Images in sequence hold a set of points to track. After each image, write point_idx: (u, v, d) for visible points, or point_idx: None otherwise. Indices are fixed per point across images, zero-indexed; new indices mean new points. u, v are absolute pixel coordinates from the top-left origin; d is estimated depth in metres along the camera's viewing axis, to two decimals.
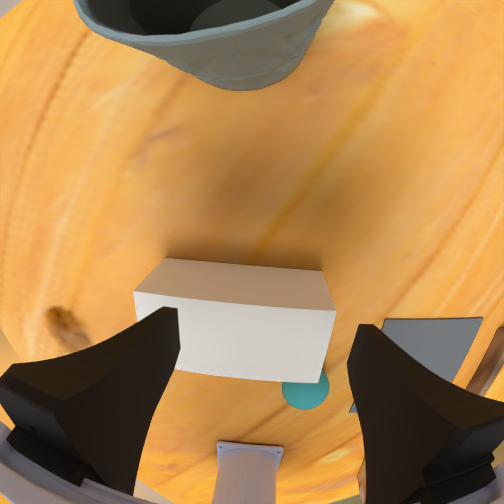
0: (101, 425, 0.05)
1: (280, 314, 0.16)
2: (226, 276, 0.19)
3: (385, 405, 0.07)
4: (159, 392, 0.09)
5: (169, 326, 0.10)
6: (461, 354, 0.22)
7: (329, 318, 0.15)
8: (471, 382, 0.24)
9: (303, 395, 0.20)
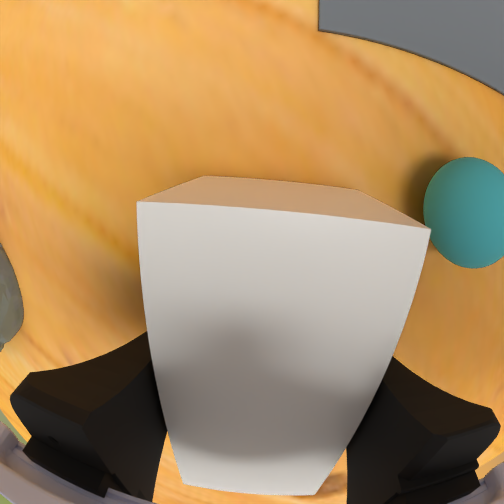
0: (126, 433, 0.05)
1: (166, 340, 0.06)
2: None
3: None
4: None
5: None
6: None
7: (161, 219, 0.05)
8: None
9: (482, 235, 0.06)
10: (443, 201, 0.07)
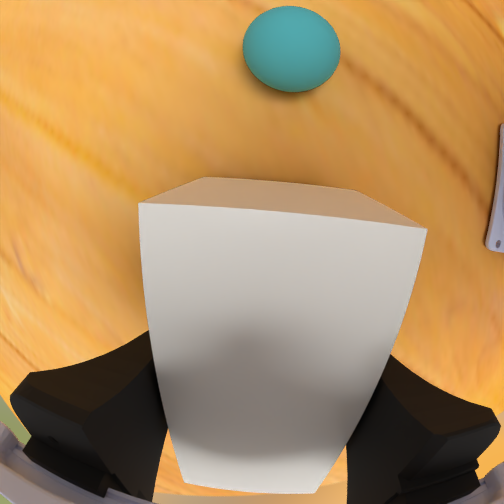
0: (125, 433, 0.05)
1: (167, 339, 0.06)
2: None
3: None
4: None
5: None
6: None
7: (162, 220, 0.05)
8: None
9: (270, 40, 0.08)
10: (244, 36, 0.09)
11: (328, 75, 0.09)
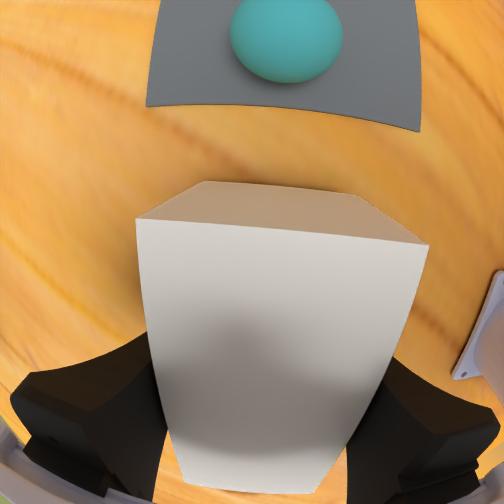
0: (126, 433, 0.05)
1: (167, 350, 0.06)
2: None
3: None
4: None
5: None
6: None
7: (160, 236, 0.05)
8: None
9: None
10: (231, 45, 0.08)
11: None
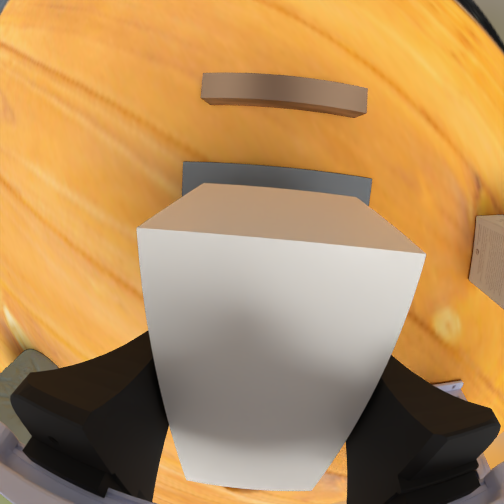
0: (126, 433, 0.05)
1: (169, 354, 0.06)
2: None
3: (366, 406, 0.07)
4: None
5: None
6: (252, 178, 0.17)
7: (161, 245, 0.05)
8: (334, 113, 0.16)
9: None
10: None
11: None
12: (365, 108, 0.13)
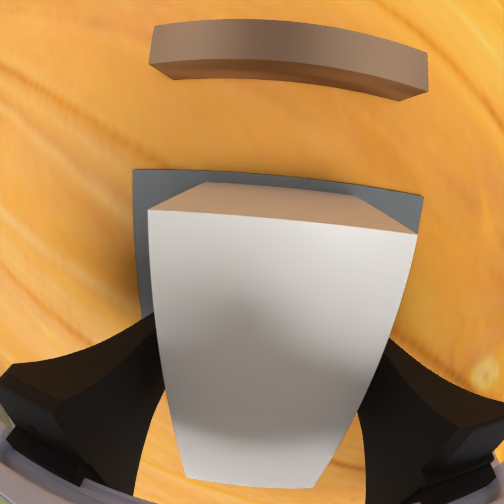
0: (101, 425, 0.05)
1: (173, 337, 0.07)
2: None
3: (385, 405, 0.07)
4: (159, 392, 0.09)
5: None
6: None
7: (170, 225, 0.06)
8: (371, 92, 0.09)
9: None
10: None
11: None
12: (426, 83, 0.07)
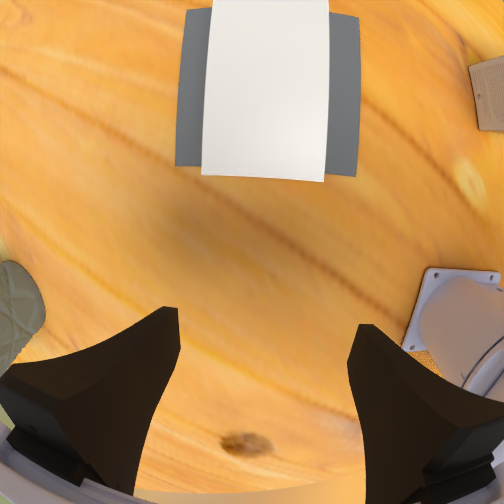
0: (101, 425, 0.05)
1: (220, 12, 0.10)
2: None
3: (385, 405, 0.07)
4: (159, 392, 0.09)
5: (169, 326, 0.10)
6: None
7: None
8: None
9: None
10: None
11: None
12: None
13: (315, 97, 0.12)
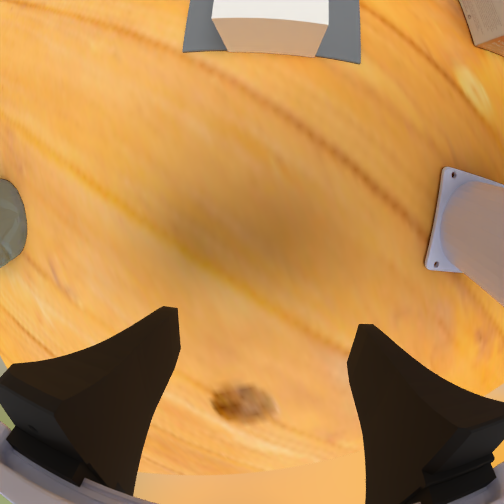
0: (101, 425, 0.05)
1: None
2: None
3: (385, 405, 0.07)
4: (159, 392, 0.09)
5: (169, 326, 0.10)
6: None
7: None
8: None
9: None
10: None
11: None
12: None
13: None
